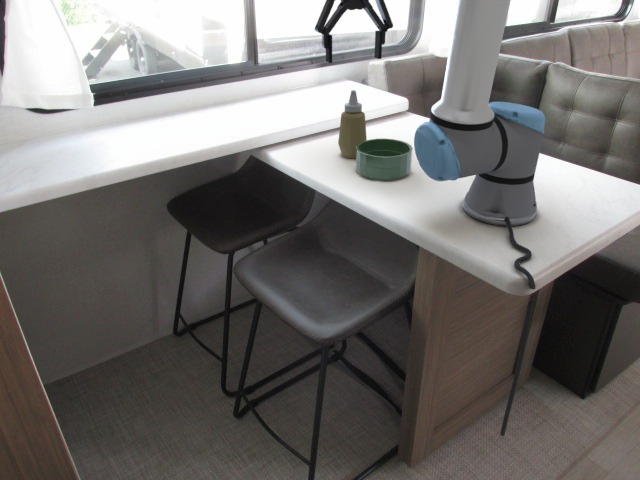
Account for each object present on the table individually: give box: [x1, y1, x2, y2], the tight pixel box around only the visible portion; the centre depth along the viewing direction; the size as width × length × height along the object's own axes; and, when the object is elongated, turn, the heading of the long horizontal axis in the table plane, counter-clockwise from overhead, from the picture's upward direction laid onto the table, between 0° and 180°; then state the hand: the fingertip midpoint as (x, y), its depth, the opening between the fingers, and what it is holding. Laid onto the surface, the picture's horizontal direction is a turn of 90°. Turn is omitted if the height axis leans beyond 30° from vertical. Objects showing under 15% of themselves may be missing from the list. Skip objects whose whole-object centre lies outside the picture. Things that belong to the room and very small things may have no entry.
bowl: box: [355, 138, 414, 182], centre depth 132 cm, size 14×14×6 cm
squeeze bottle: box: [337, 89, 368, 159], centre depth 140 cm, size 8×8×18 cm
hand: (353, 60), depth 132 cm, fingers open, 13 cm apart
